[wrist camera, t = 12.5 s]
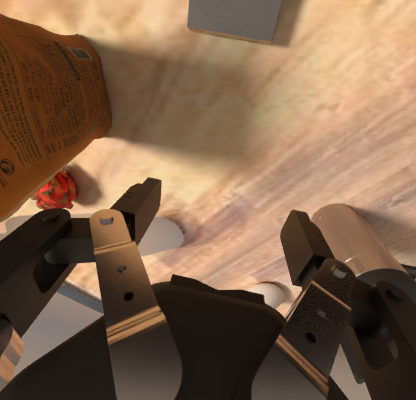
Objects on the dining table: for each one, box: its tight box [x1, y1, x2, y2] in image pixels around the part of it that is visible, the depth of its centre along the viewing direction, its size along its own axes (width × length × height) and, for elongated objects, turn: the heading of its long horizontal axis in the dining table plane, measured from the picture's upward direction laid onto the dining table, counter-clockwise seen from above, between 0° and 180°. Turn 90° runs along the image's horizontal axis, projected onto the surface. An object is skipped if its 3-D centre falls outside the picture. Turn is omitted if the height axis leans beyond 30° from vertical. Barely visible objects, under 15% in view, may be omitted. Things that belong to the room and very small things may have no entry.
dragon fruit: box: [31, 170, 79, 210], centre depth 45 cm, size 8×8×12 cm
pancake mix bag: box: [0, 14, 112, 222], centre depth 25 cm, size 7×19×28 cm, turn 178°
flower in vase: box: [247, 283, 284, 309], centre depth 52 cm, size 13×11×25 cm
